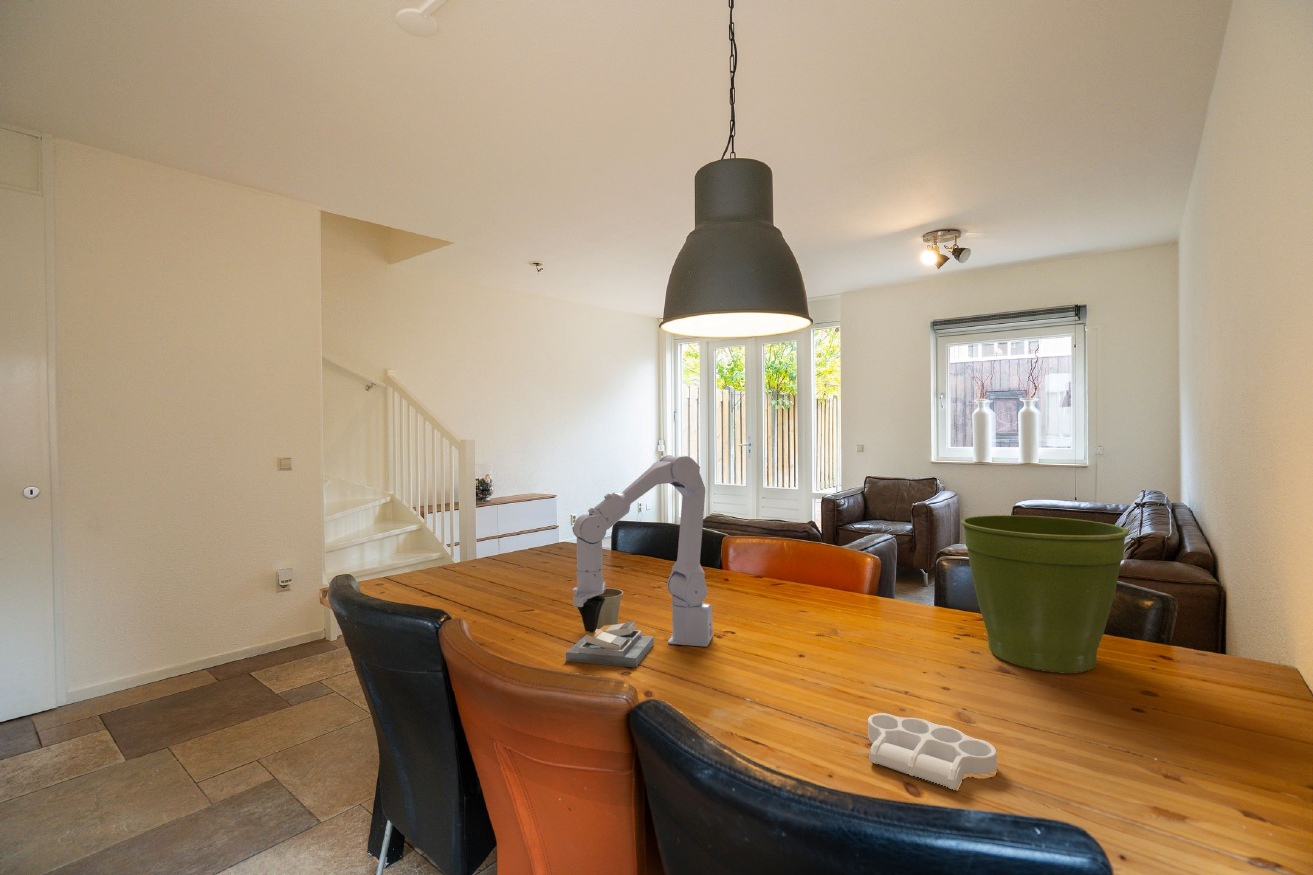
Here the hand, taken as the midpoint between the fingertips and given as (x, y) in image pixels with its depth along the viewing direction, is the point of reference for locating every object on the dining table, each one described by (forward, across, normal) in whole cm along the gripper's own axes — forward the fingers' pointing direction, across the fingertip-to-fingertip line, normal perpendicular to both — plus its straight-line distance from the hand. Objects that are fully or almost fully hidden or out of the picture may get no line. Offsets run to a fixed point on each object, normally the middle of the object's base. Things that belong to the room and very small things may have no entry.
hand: (590, 630), depth 131 cm
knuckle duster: (+6, +27, +64) cm, 70 cm away
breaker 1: (+2, 0, +4) cm, 4 cm away
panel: (+6, -4, +4) cm, 8 cm away
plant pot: (+6, -20, +94) cm, 97 cm away
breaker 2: (+2, -7, +4) cm, 8 cm away
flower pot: (+6, -22, -4) cm, 23 cm away
